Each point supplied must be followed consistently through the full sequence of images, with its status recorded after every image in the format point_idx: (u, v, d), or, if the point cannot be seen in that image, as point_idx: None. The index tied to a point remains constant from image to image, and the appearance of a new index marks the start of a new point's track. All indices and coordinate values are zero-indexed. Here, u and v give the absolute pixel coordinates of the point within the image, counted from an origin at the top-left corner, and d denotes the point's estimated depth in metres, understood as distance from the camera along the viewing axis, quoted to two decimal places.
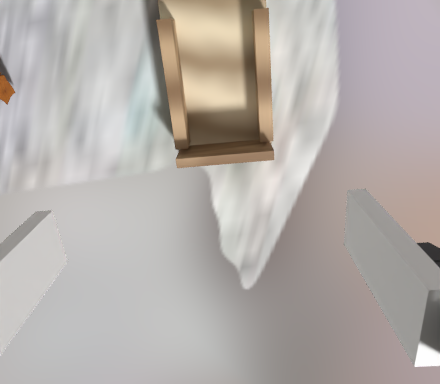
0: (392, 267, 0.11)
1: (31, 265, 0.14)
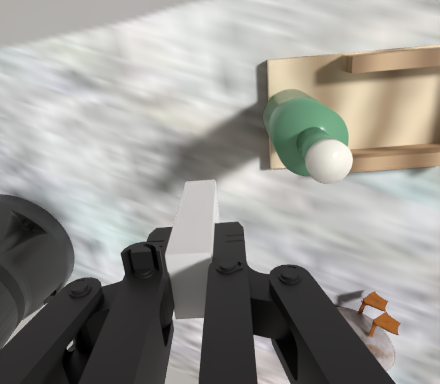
0: None
1: None
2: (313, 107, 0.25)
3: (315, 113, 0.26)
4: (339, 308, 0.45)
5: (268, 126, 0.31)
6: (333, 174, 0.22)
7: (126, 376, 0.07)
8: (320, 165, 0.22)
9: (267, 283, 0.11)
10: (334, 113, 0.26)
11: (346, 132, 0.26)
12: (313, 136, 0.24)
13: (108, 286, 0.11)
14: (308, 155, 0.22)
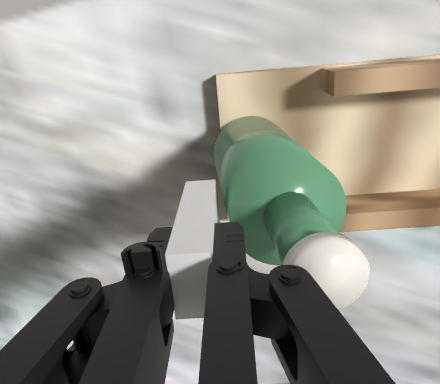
0: None
1: None
2: (289, 161, 0.15)
3: (292, 170, 0.15)
4: None
5: (219, 177, 0.21)
6: (335, 298, 0.12)
7: (126, 376, 0.07)
8: None
9: (267, 283, 0.11)
10: (323, 169, 0.15)
11: (342, 197, 0.16)
12: (292, 216, 0.14)
13: (108, 286, 0.11)
14: None
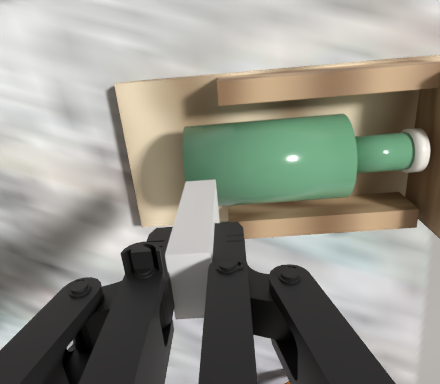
0: None
1: None
2: (344, 115, 0.22)
3: None
4: None
5: (267, 170, 0.20)
6: None
7: (126, 377, 0.07)
8: None
9: (267, 283, 0.11)
10: None
11: None
12: (380, 138, 0.22)
13: (108, 286, 0.11)
14: (427, 147, 0.21)
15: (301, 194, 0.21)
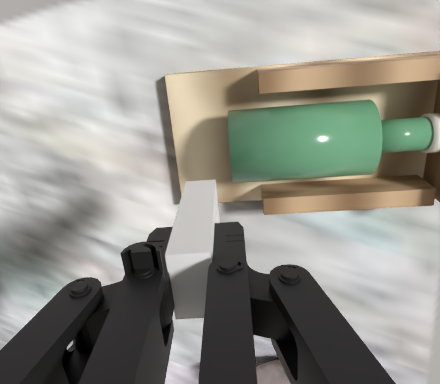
0: None
1: None
2: (369, 100, 0.25)
3: None
4: None
5: (302, 145, 0.23)
6: None
7: (126, 376, 0.07)
8: None
9: (267, 283, 0.11)
10: None
11: None
12: (402, 120, 0.25)
13: (108, 286, 0.11)
14: None
15: (331, 169, 0.24)
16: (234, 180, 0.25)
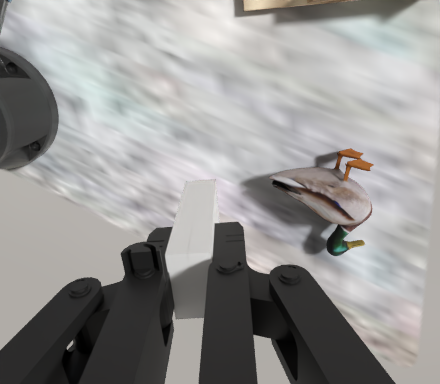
0: None
1: None
2: None
3: None
4: (317, 167, 0.46)
5: None
6: None
7: (126, 377, 0.07)
8: None
9: (267, 283, 0.11)
10: None
11: None
12: None
13: (108, 286, 0.11)
14: None
15: None
16: None
